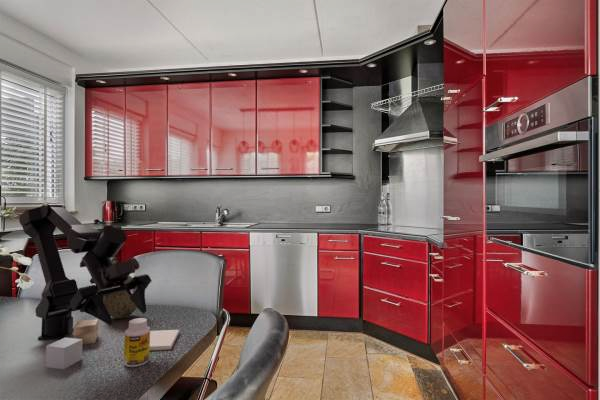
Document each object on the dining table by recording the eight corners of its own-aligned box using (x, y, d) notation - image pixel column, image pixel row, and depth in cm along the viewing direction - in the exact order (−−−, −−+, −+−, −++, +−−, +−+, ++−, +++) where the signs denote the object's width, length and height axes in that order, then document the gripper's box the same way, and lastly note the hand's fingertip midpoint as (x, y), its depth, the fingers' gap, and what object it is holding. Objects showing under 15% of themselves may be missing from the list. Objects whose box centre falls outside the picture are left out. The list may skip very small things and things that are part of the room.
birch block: (73, 345, 88) (73, 327, 88) (76, 338, 92) (77, 321, 92) (94, 343, 90) (95, 324, 90) (97, 336, 94) (98, 318, 94)
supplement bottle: (124, 370, 75) (126, 326, 75) (122, 360, 80) (123, 319, 80) (151, 364, 78) (152, 322, 79) (147, 355, 83) (148, 315, 83)
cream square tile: (126, 351, 85) (126, 347, 85) (140, 334, 96) (140, 331, 96) (170, 349, 87) (170, 345, 87) (179, 333, 98) (179, 329, 98)
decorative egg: (96, 318, 108) (97, 273, 108) (128, 310, 117) (129, 268, 117) (113, 326, 102) (114, 278, 102) (145, 316, 111) (146, 272, 111)
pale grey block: (45, 367, 76) (46, 345, 76) (64, 357, 81) (65, 337, 81) (63, 369, 75) (64, 347, 76) (81, 359, 80) (82, 339, 80)
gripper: (78, 253, 75) (107, 308, 70) (147, 245, 92) (175, 289, 87) (58, 283, 78) (84, 338, 73) (128, 270, 95) (154, 314, 90)
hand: (129, 317), depth 81 cm, fingers open, 9 cm apart
